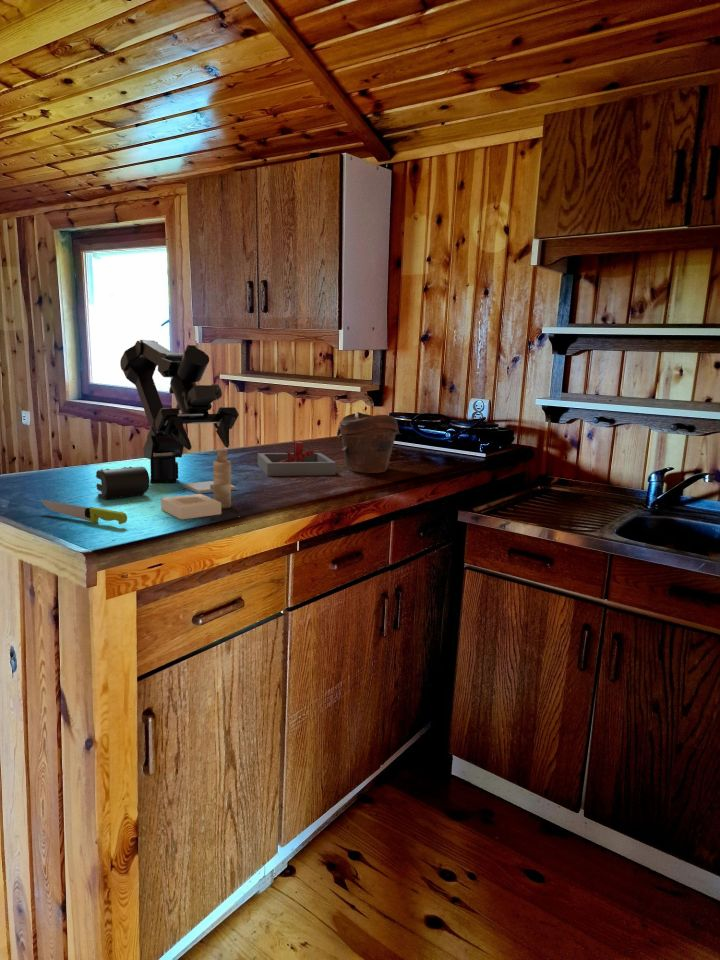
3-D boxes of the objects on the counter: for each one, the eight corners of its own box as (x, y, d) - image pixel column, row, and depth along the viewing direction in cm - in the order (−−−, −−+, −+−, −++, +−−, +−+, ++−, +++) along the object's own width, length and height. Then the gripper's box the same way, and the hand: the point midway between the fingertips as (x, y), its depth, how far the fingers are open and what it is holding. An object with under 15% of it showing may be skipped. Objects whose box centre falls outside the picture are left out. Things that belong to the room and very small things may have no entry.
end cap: (107, 502, 139) (106, 472, 138) (95, 496, 144) (93, 467, 143) (150, 497, 146) (149, 468, 144) (137, 491, 151) (136, 464, 149)
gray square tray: (267, 475, 177) (267, 463, 176) (257, 464, 195) (257, 453, 194) (335, 474, 183) (336, 462, 182) (320, 464, 201) (320, 452, 200)
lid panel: (183, 487, 158) (182, 480, 157) (219, 483, 164) (219, 476, 164) (198, 493, 151) (198, 486, 150) (236, 489, 157) (236, 482, 157)
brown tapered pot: (350, 461, 207) (352, 407, 203) (406, 468, 198) (409, 412, 195) (323, 470, 191) (325, 411, 187) (383, 478, 183) (386, 416, 179)
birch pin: (214, 508, 137) (214, 451, 135) (212, 504, 141) (212, 449, 138) (231, 507, 138) (231, 451, 136) (230, 503, 142) (230, 449, 139)
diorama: (282, 463, 195) (282, 436, 194) (318, 466, 192) (319, 439, 191) (268, 468, 185) (268, 440, 184) (306, 472, 182) (306, 443, 180)
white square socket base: (161, 509, 134) (161, 498, 134) (200, 504, 140) (200, 493, 139) (180, 519, 127) (180, 507, 126) (221, 514, 132) (221, 502, 132)
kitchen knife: (38, 514, 127) (38, 499, 126) (44, 512, 128) (43, 498, 128) (123, 529, 118) (122, 514, 118) (128, 528, 119) (127, 512, 119)
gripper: (158, 371, 137) (180, 426, 130) (235, 372, 149) (258, 423, 142) (145, 404, 144) (165, 458, 138) (219, 403, 156) (241, 453, 150)
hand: (209, 447), depth 142 cm, fingers open, 9 cm apart
